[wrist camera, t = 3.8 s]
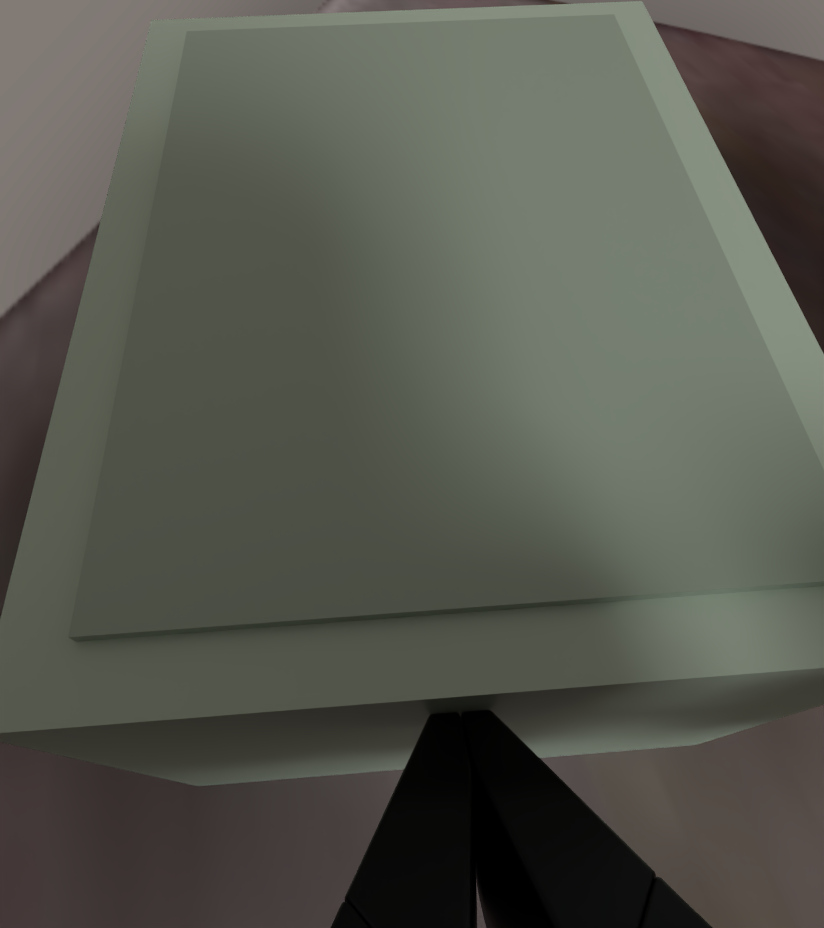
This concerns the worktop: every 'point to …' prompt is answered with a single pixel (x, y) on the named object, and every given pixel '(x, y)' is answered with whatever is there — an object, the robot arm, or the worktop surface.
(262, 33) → the tub
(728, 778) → the worktop surface
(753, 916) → the worktop surface
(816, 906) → the worktop surface
